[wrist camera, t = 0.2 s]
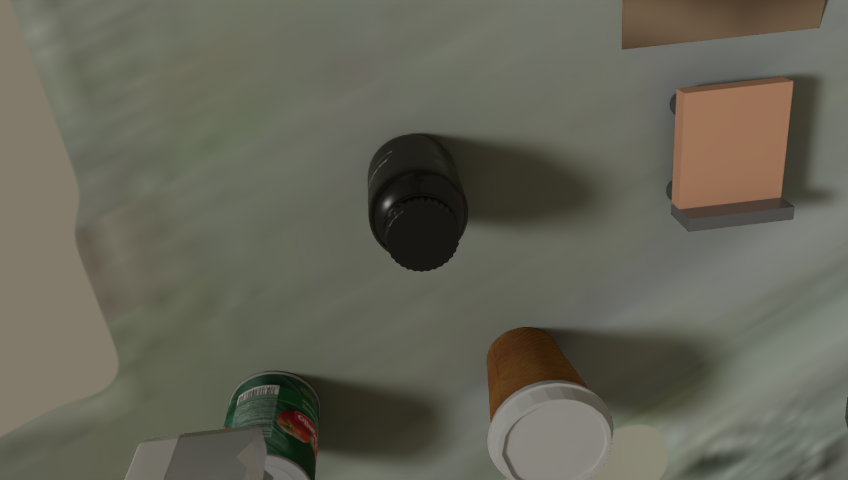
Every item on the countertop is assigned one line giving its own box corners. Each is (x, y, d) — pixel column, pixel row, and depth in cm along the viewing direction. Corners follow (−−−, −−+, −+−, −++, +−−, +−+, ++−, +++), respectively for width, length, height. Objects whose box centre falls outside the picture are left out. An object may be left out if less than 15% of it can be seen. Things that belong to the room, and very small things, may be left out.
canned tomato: (339, 409, 68) (336, 498, 58) (274, 459, 69) (261, 553, 59) (275, 353, 65) (260, 436, 55) (209, 406, 66) (183, 496, 56)
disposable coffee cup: (476, 307, 64) (500, 390, 54) (585, 313, 66) (631, 396, 55) (461, 400, 68) (481, 496, 57) (564, 405, 69) (603, 500, 58)
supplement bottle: (360, 138, 58) (361, 194, 47) (450, 126, 58) (471, 178, 47) (374, 221, 61) (377, 292, 50) (459, 209, 61) (481, 277, 50)
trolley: (666, 82, 58) (695, 100, 53) (769, 71, 58) (808, 87, 53) (661, 204, 62) (688, 231, 57) (758, 193, 62) (793, 219, 57)
